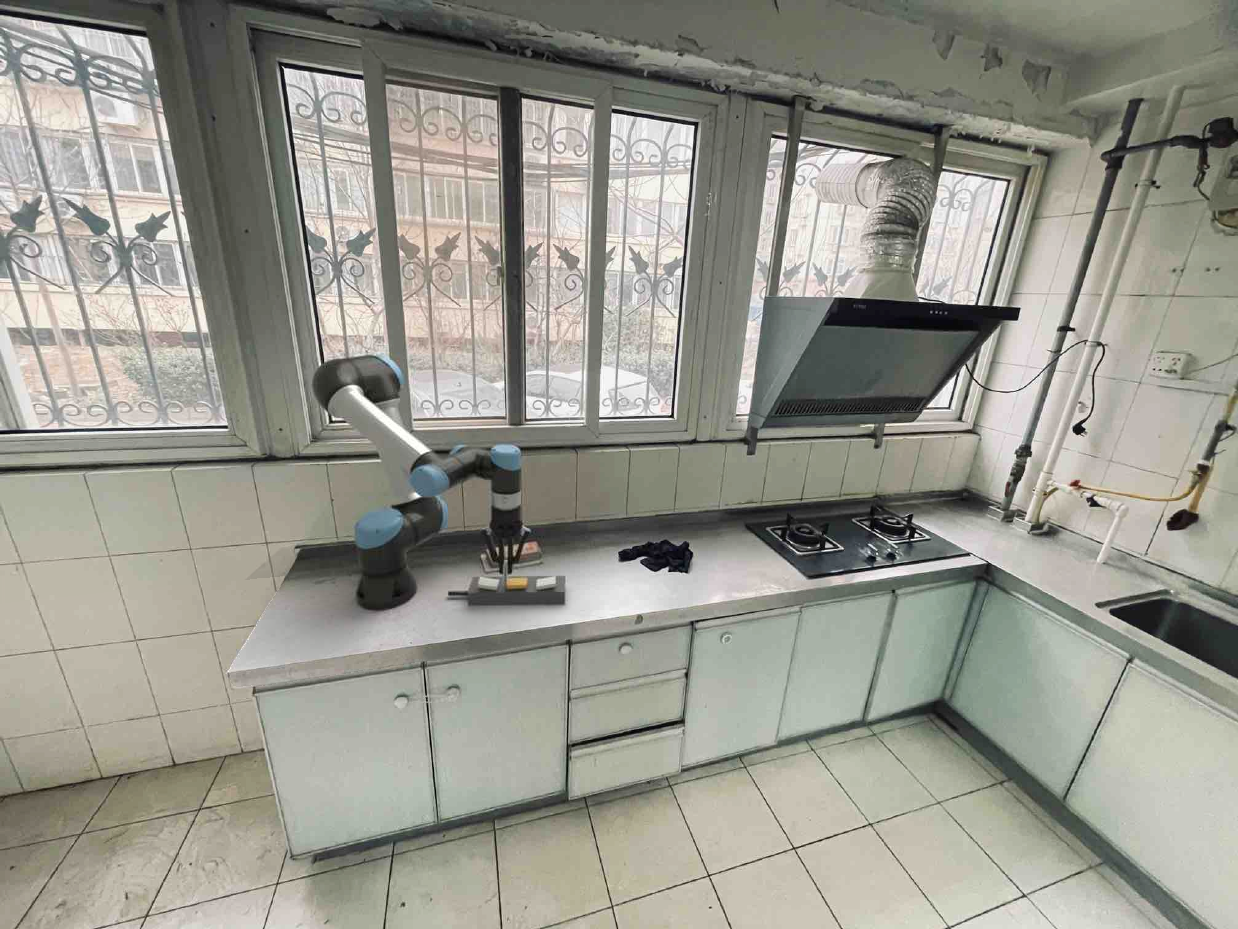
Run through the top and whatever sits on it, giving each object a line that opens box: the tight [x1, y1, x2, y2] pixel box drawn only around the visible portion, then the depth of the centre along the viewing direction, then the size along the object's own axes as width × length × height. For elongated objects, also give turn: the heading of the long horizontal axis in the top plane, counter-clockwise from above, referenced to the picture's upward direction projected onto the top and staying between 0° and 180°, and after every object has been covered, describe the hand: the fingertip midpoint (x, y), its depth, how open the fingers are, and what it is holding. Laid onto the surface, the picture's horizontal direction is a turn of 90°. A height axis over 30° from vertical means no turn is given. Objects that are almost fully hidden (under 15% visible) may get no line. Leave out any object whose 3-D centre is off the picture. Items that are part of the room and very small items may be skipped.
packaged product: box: [480, 541, 544, 574], centre depth 155 cm, size 18×5×10 cm
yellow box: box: [507, 578, 528, 589], centre depth 134 cm, size 5×4×1 cm
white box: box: [477, 576, 499, 590], centre depth 134 cm, size 5×4×1 cm
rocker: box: [536, 575, 557, 590], centre depth 135 cm, size 5×4×1 cm
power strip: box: [447, 575, 566, 607], centre depth 136 cm, size 32×8×4 cm, turn 95°
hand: (506, 583), depth 134 cm, fingers closed
